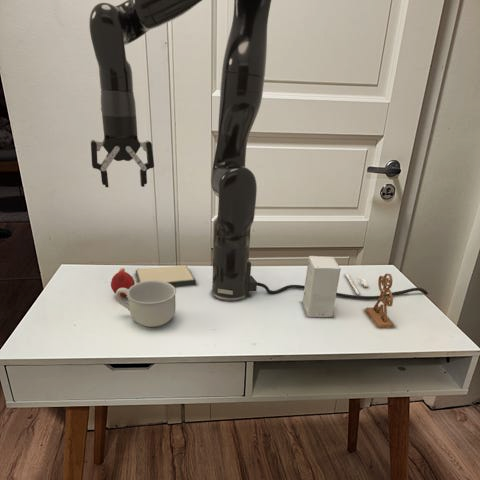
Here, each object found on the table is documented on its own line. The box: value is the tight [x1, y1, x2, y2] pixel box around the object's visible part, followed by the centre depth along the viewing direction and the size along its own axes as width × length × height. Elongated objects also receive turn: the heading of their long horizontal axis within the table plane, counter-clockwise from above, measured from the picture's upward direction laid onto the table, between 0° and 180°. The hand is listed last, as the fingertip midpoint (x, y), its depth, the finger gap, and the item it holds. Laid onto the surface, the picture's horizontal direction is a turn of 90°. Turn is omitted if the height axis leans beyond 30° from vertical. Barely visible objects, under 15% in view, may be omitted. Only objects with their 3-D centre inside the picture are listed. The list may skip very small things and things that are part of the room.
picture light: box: [345, 273, 369, 296], centre depth 124 cm, size 14×4×2 cm, turn 1°
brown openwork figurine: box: [364, 273, 395, 329], centre depth 104 cm, size 9×4×12 cm, turn 7°
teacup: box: [114, 280, 177, 328], centre depth 99 cm, size 14×11×8 cm
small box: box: [302, 255, 341, 318], centre depth 106 cm, size 8×6×13 cm
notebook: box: [135, 264, 197, 288], centre depth 121 cm, size 15×11×2 cm
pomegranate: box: [110, 267, 136, 299], centre depth 108 cm, size 6×6×8 cm
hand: (125, 186), depth 105 cm, fingers open, 8 cm apart
